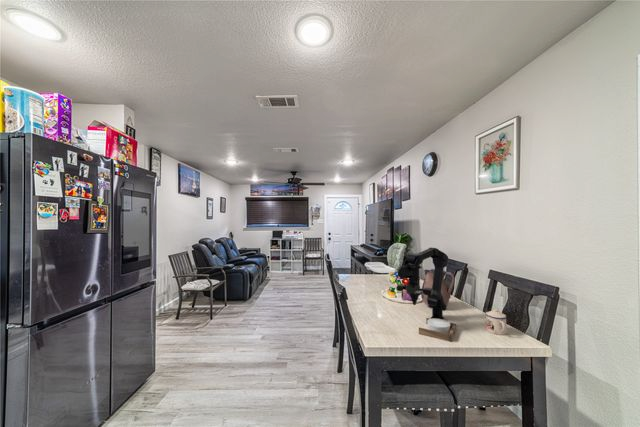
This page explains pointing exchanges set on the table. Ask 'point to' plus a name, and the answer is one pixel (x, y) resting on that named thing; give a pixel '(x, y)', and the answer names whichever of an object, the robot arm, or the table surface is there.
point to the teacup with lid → (496, 322)
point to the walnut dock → (439, 334)
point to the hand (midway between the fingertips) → (414, 304)
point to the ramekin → (439, 325)
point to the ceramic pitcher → (444, 289)
